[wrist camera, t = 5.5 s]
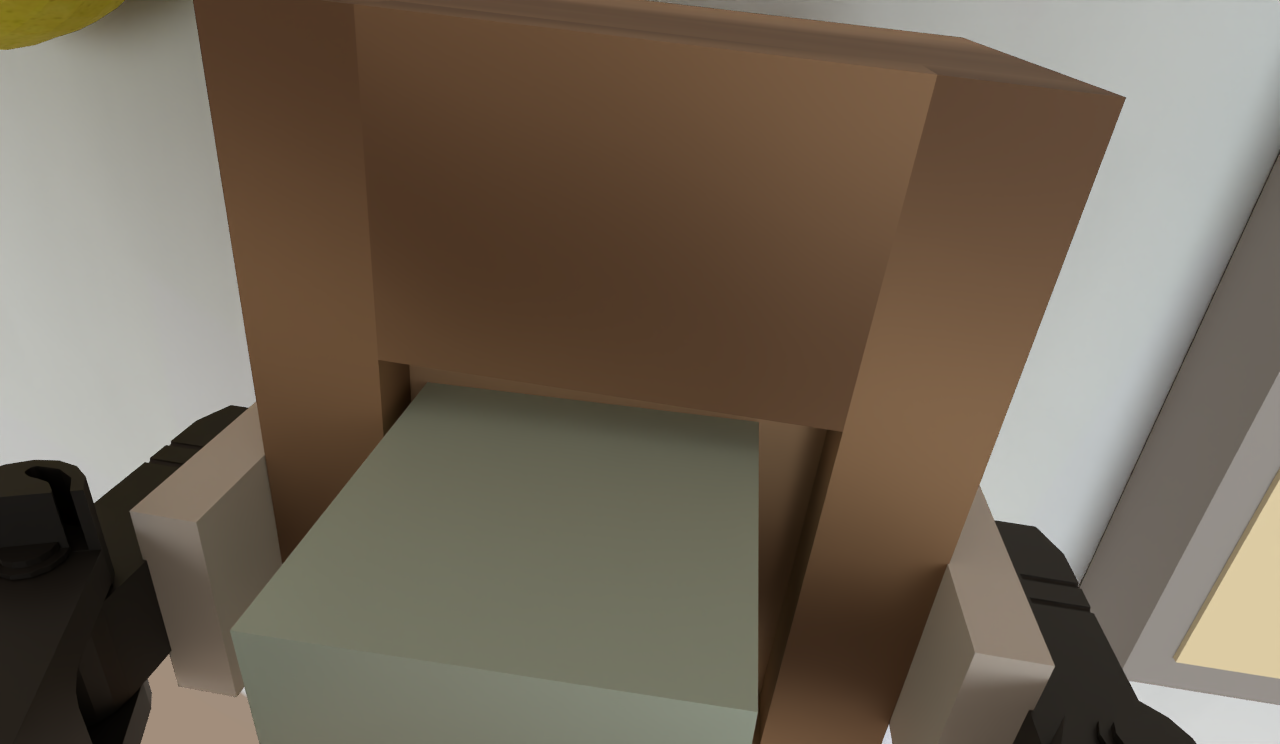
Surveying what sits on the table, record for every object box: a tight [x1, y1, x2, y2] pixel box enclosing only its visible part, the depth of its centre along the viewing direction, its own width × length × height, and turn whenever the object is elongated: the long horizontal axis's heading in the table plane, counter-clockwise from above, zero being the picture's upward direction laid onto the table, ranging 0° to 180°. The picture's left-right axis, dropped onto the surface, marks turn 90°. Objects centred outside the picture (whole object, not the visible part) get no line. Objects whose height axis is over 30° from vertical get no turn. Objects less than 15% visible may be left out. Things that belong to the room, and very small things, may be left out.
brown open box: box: [193, 0, 1126, 744], centre depth 12 cm, size 12×8×6 cm, turn 174°
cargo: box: [230, 382, 759, 744], centre depth 8 cm, size 4×4×4 cm
